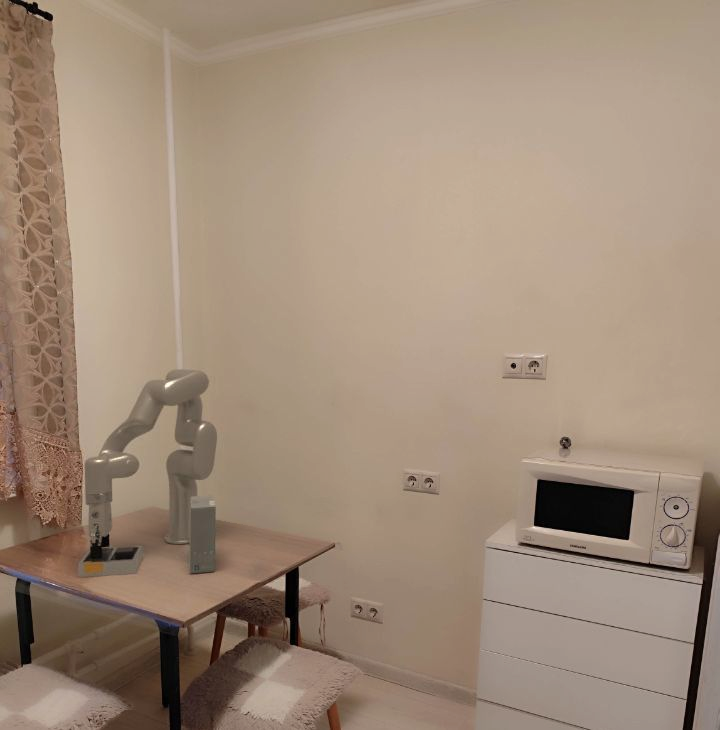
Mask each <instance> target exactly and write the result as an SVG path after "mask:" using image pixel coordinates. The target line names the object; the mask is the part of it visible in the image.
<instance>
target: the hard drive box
mask: <svg viewBox="0 0 720 730" xmlns="http://www.w3.org/2000/svg"><path fill="white" fill-rule="evenodd" d="M216 512H217V511H216V502H215V495H214V494H212V495H210V494H209V495H197V496H192V497H190V543H189V548H188V549H189V550H188V552H189V557H188V559H189V560H188V561H189V562H188V563H189V565H188V568H189V574H200V573H201V574H202V573H210V572H215V571H216Z"/></svg>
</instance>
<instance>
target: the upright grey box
mask: <svg viewBox="0 0 720 730" xmlns="http://www.w3.org/2000/svg"><path fill="white" fill-rule="evenodd" d="M102 548H103V549H102V558H101V559H92V561H106V560H107V559H108V557H109V555H110V554H111V552H112V547H102Z"/></svg>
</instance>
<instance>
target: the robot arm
mask: <svg viewBox="0 0 720 730" xmlns="http://www.w3.org/2000/svg"><path fill="white" fill-rule="evenodd" d="M209 379H210V378H209V377H208V375H207V374H206V372H204V371H202V370H199V369H173V370H169V371H168V373H167V374H166V376H165V379H151V380H149V381H147V382H146V383H145V384H144V386H143V388H142V390H141V392H140V393H139V396H138V397H137V399H136V402H135V404H134V405H133V407H132V409H131V411H130V414H129V415H128V417H127V419H126V420H125V421H123V422H122V423H121V424H119V425H118V427H117V428H115V429H114V430H113V432H112V433H110V435H108V437H107V438H106V440H105V441H104V443H103V445H102V447H101V450H100V451H99V454H98V455H97V456H91V457H88V458H87V459H86V460H85V461H84V494H85V497H84V498H85V505H86V506H88V536H89V538H90V540H89V542H90V543H89V549H90V558H91V559H101V558H102V548H110V545H111V544H110V532H111V530H112V528H113V517H112V515H113V514H112V502H113V480H114V479H125V478H129V477H132V476H134V475H135V474H136V473H137V472H138V470H139V468H140V461H139V459H138V458H137V457H136V456H135V455H134V454H131V453H127V452H124V451H125V449H126V447H127V446H128V445H129V443H131V442H132V441H133V440H135V439H136V438H139V437H140V436H143V435H145V434H146V433H148V432H151V431H152V430H153V429H154V427H155V425H156V423H157V420H158V419H159V417H160V415H161V412H162V410H163V408H164V407H165V406H168V407H175V406H177V413H176V419H175V420H176V421H175V428H174V440H175V442H176V443H177V444H178V445H181V446H185V447H190V448H191V447H192V450H189V449H182V448H181V449H177V450H173V451H172V452H171V453H170V454H169V455H168V456H167V458H166V462H165V466H166V472H167V478H168V487H169V488H168V491H169V493H168V495H169V499H168V502H169V505H168V507H169V508H168V509H169V511H168V512H169V516H168V517H169V520H168V521H169V530H168V531H169V532H168V533H167V534H166V535H165V536H164V541H165V542H166V543H168V544H172V545H187V544H190V497H192V496H198V483H197V481H203V480H206V479H208V478H209V477H210V476H211V474H212V472H213V469H214V465H215V458H216V450H217V443H218V432H217V429H216V427H215V425H214V424H213V423H212V422H210V421H209V420H208V421H207V420H203V419H202V418H203V401H202V398H201V395H202V394H204V393H205V392H206V391H207V390H208V388H209V385H210V384H209V383H210V380H209Z"/></svg>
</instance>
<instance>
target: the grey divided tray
mask: <svg viewBox="0 0 720 730" xmlns="http://www.w3.org/2000/svg"><path fill="white" fill-rule="evenodd" d="M103 548H104V547H102V549H103ZM111 548H112V552H111V554H110V555H109V557H108V559H107V560H106V561H92V559H91V558H90V548H89V549H88V550H87V551H86V553H85V554H84V555H83V556H82V558H81V559H80V561H78V564H77V578H89V577H90V578H91V577H103V576H105V577H106V576H115V575H116V576H117V575H118V576H120V575H131V574H132V575H133V574H136V573H137V572H138V569H139V567H140V565H141V564H142V563H141V562H142V560H143V559H144V551H143V550H144V546H143V545H134V546H133V545H131V546H115V547H114V546H113V547H111Z"/></svg>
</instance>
